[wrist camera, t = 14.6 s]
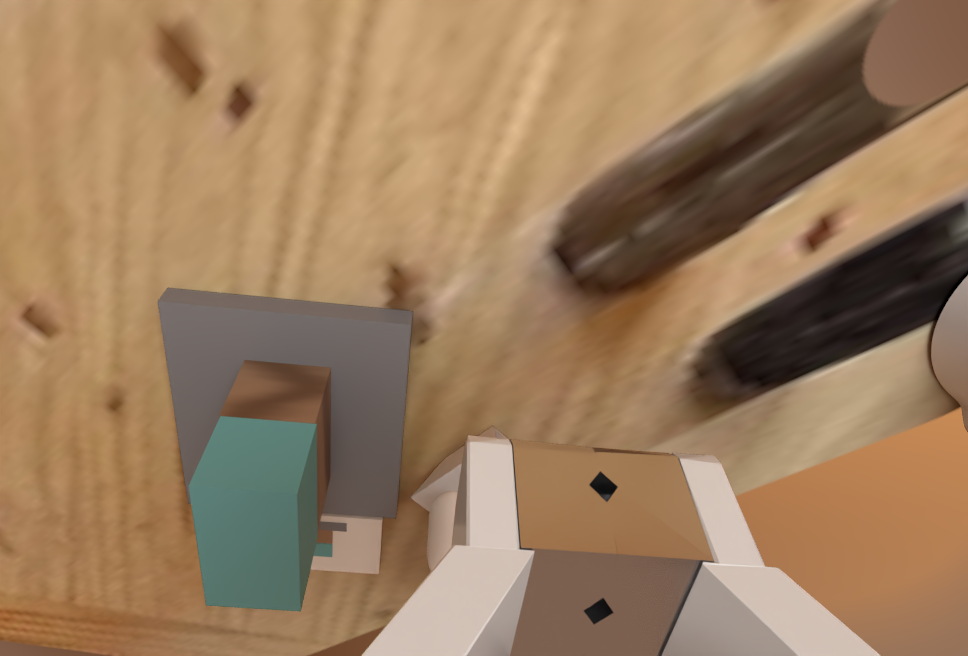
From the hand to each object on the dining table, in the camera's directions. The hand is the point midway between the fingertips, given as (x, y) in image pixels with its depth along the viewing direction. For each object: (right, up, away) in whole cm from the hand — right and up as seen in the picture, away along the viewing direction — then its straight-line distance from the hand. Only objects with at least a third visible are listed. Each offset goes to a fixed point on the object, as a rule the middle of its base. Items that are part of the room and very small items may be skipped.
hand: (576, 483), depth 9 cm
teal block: (-13, -7, +31) cm, 34 cm away
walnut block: (-13, -4, +35) cm, 38 cm away
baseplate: (-13, -3, +37) cm, 39 cm away
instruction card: (-15, -13, +43) cm, 48 cm away
